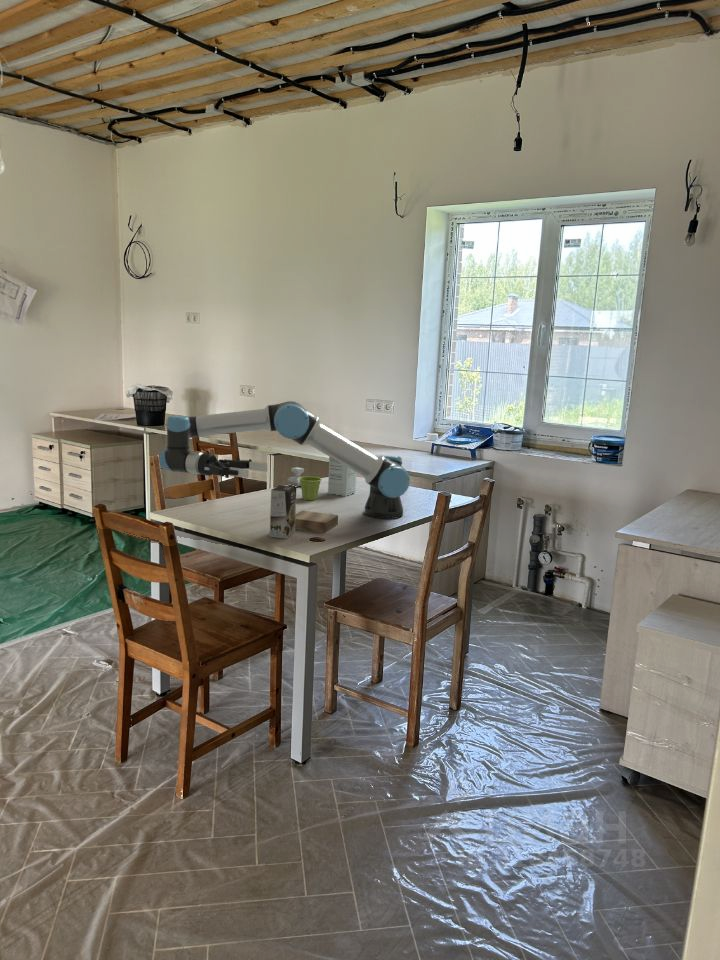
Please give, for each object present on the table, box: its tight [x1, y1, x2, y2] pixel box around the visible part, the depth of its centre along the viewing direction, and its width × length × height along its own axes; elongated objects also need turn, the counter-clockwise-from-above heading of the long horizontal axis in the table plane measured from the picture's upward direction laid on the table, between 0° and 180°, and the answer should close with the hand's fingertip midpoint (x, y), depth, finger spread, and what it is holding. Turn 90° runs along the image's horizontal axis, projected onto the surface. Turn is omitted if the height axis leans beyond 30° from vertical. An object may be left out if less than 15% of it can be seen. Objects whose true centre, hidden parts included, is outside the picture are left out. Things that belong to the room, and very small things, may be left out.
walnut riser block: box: [295, 510, 339, 534], centre depth 239 cm, size 14×12×4 cm
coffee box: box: [269, 485, 297, 540], centre depth 225 cm, size 9×6×16 cm
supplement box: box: [327, 456, 357, 497], centre depth 293 cm, size 10×9×17 cm
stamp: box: [286, 466, 305, 486], centre depth 304 cm, size 9×7×8 cm
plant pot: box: [299, 476, 323, 501], centre depth 280 cm, size 9×9×9 cm
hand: (257, 470), depth 225 cm, fingers open, 13 cm apart
